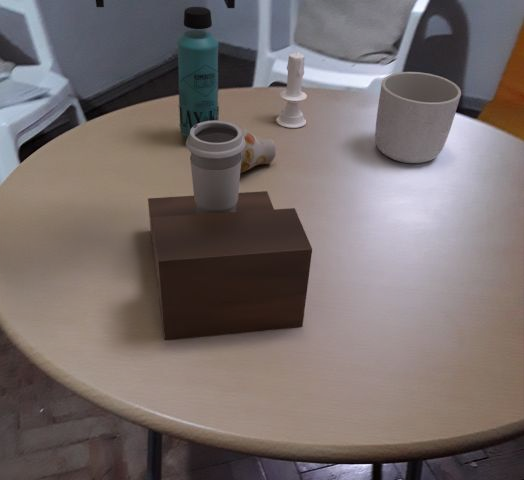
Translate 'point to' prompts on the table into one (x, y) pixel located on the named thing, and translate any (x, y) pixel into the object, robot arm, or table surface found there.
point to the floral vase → (256, 151)
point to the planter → (415, 115)
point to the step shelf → (228, 266)
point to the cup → (215, 165)
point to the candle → (293, 93)
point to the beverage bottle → (197, 71)
